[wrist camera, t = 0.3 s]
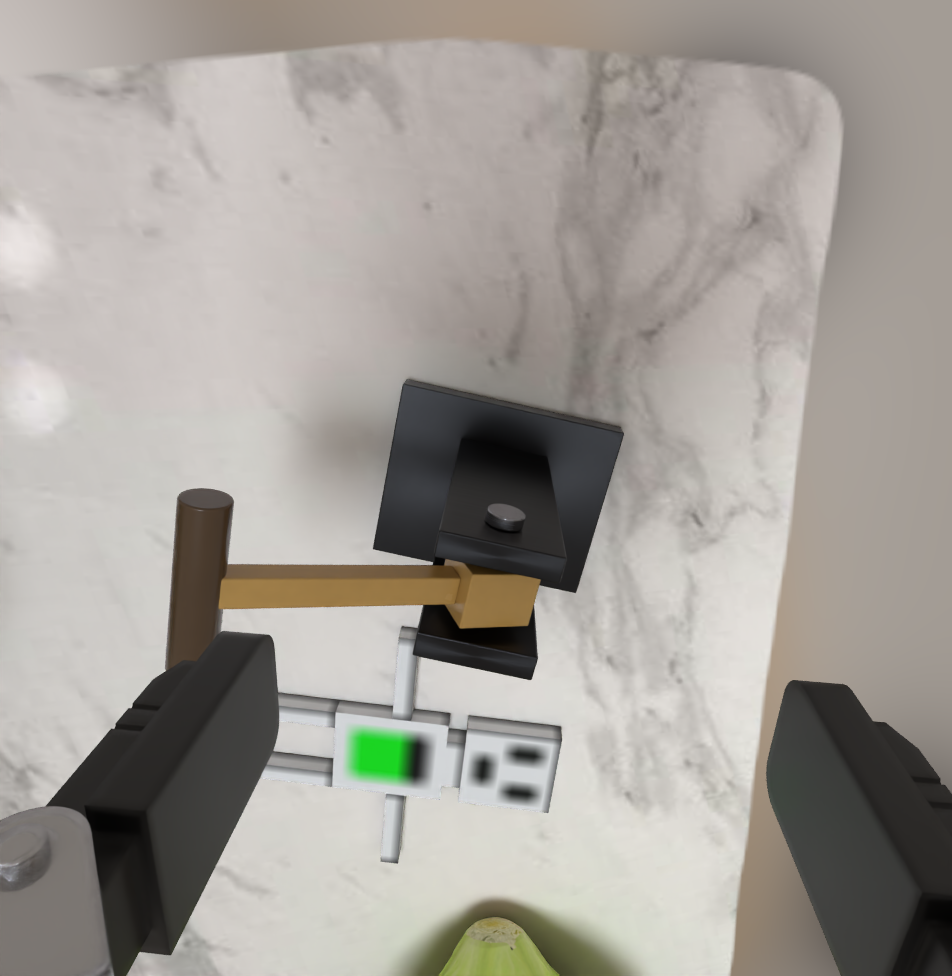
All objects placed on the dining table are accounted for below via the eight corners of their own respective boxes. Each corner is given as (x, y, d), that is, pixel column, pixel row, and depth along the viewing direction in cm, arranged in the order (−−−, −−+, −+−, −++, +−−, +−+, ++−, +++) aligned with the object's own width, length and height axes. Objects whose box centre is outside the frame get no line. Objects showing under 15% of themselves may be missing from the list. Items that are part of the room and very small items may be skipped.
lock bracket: (376, 540, 37) (313, 682, 25) (406, 378, 34) (350, 452, 22) (574, 582, 37) (605, 743, 25) (620, 427, 34) (681, 525, 22)
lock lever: (165, 646, 23) (164, 692, 21) (176, 480, 21) (177, 514, 19) (491, 632, 28) (516, 669, 26) (526, 499, 26) (556, 527, 24)
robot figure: (198, 824, 44) (535, 865, 44) (175, 868, 41) (537, 912, 41) (190, 601, 39) (575, 647, 39) (162, 632, 36) (581, 682, 36)
